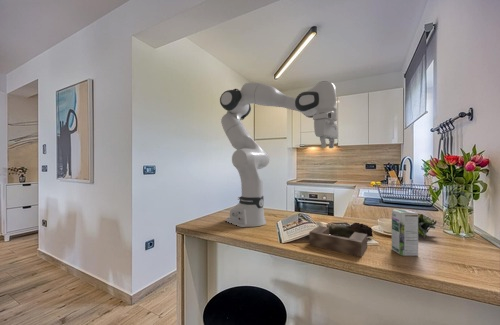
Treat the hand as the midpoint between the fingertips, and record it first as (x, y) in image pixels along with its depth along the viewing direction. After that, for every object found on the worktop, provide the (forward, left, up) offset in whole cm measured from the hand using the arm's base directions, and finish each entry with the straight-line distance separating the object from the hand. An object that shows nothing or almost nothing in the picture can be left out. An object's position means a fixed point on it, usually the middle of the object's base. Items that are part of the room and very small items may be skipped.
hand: (327, 147), depth 98 cm
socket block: (+8, -15, -38) cm, 42 cm away
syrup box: (+28, -7, -38) cm, 48 cm away
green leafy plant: (+32, +17, -38) cm, 53 cm away
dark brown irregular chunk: (+9, 0, -39) cm, 39 cm away
